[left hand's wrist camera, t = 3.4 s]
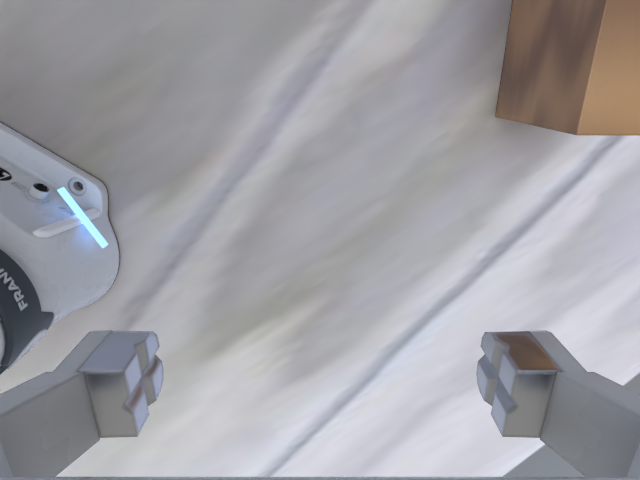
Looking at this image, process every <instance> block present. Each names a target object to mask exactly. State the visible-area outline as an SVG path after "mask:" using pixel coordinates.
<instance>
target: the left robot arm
mask: <svg viewBox="0 0 640 480" xmlns="http://www.w3.org/2000/svg"><path fill="white" fill-rule="evenodd" d="M78 182H80V183H81V184H82V185H83V189H81V188H80V187H79V186H78ZM118 268H119V249H118V244H117V240H116V237H115V234H114V232H113V229H112V227H111V224H110V221H109V218H108V193H107V189H106V187H105V185H104V184H103V183H102V182H101V181H99V180H98V179H96V178H95V177H93V176H91V175H89V174H88V173H86V172H84V171H83V170H81V169H79V168H77V167H76V166H74V165H72V164H71V163H69V162H67V161H66V160H64V159H62V158H60V157H59V156H57V155H55V154H54V153H52V152H50V151H49V150H47V149H45V148H43V147H42V146H40V145H38V144H37V143H35V142H33V141H31V140H30V139H28V138H26V137H25V136H23V135H21V134H20V133H18V132H16V131H14V130H13V129H11V128H9V127H8V126H6V125H4V124H2V123H1V122H0V374H1V373H2V372H4V371H5V370H6V369H9V368H10V367H12V366H13V365H14V364H15V363H16V362H17V361H18V360H19V359H20V358H22V357H23V356H24V355H25V354H26V353H27V352H28V351H29V350H30V349H31V348H32V347H33V346H34V345H35V344H36V343H37V342H38V341H39V340H40V339H41V338H42V337H43V336H44V335H45V334H46V332H47V330H48V328H49V327H50V326H51V325H52V324H54V323H55V322H57V321H58V320H60V319H61V318H63V317H65V316H66V315H68V314H70V313H71V312H73V311H75V310H77V309H79V308H81V307H84V306H87V305H89V304H92V303H93V302H95V301H97V300H98V299H100V298H101V297H102V296H103V295H104V294H105V293H106V292H107V291H108V290H109V289H110V287H111V286H112V284H113V283H114V281H115V278H116V276H117V272H118ZM158 348H159V342H158V337H157V335H156V334H155V333H154V332H149V331H92V332H89V333H88V334H87V335H86V336H85V337H84V338H83V339H82V341H81V342H80V343H79V344H78V345H77V346H76V347H75V348H74V349H73V350H72V351H71V353H70V354H69V355H68V356H67V357H66V358H65V359H64V360H63V361H62V362H61V363H60V365H59V366H58V367H57V368H56V369H55V370H54V371H53V372H45V373H43V374H41V375H39V376H37V377H35V378H33V379H31V380H29V381H27V382H25V383H22V384H20V385H18V386H16V387H14V388H12V389H10V390H8V391H6V392H4V393H2V394H0V480H640V394H638V393H636V392H634V391H632V390H630V389H628V388H626V387H624V386H622V385H620V384H617V383H615V382H613V381H611V380H609V379H607V378H605V377H603V376H601V375H599V374H597V373H595V372H587V371H586V370H585V369H584V368H583V367H582V366H581V365H580V363H579V362H578V361H577V360H576V359H575V358H574V357H573V356H572V355H571V354H570V353H569V351H568V350H567V349H566V348H565V347H564V346H563V345H562V344H561V343H560V342H559V341H558V339H557V338H556V337H555V336H554V335H553V334H552V333H551V332H549V331H546V330H543V331H521V332H485V333H484V335H483V337H482V342H481V348H482V350H483V351H484V353H485V355H484V356H483V357H482V358H481V359H480V360H479V361H478V366H477V383H478V387H479V391H480V393H481V395H482V397H483V400H484V401H486V402H487V403H489V404H490V405H491V406H492V411H491V415H492V417H493V419H494V421H495V423H496V425H497V427H498V429H499V431H500V433H501V435H502V437H533V438H540V440H541V441H543V442H544V443H545V444H546V445H547V446H549V447H550V448H551V449H552V450H553V451H555V452H556V453H557V454H558V455H559V456H561V457H562V458H563V459H564V460H566V461H567V462H568V463H569V464H570V465H572V466H573V467H574V468H575V469H577V470H578V471H579V472H580V473H581V474H582V475H584V476H585V477H55V476H56V475H58V474H59V473H60V472H61V471H63V470H64V469H65V468H66V467H67V466H69V465H70V464H71V463H72V462H73V461H75V460H76V459H77V458H78V457H79V456H81V455H82V454H83V453H84V452H86V451H87V450H88V449H89V448H90V447H92V446H93V445H94V444H95V443H96V442H98V441H99V440H100V438H106V437H138V435H139V433H140V431H141V429H142V427H143V425H144V423H145V421H146V419H147V417H148V415H149V411H148V406H149V405H150V404H151V403H153V402H154V401H156V400H157V397H158V395H159V393H160V391H161V387H162V382H163V365H162V361H161V360H160V359H159V358H158V357H157V356H156V355H155V353H156V351H157V350H158Z"/></svg>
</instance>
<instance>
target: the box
mask: <svg viewBox="0 0 640 480" xmlns="http://www.w3.org/2000/svg"><path fill="white" fill-rule="evenodd" d="M496 117H499V118H503V119H507V120H512V121H516V122H521V123H525V124H529V125H534V126H538V127H543V128H547V129H552V130H556V131H560V132H565V133H569V134H574V135H640V0H513V3H512V10H511V16H510V23H509V30H508V36H507V43H506V50H505V56H504V63H503V70H502V76H501V83H500V90H499V96H498V103H497V110H496Z"/></svg>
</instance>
